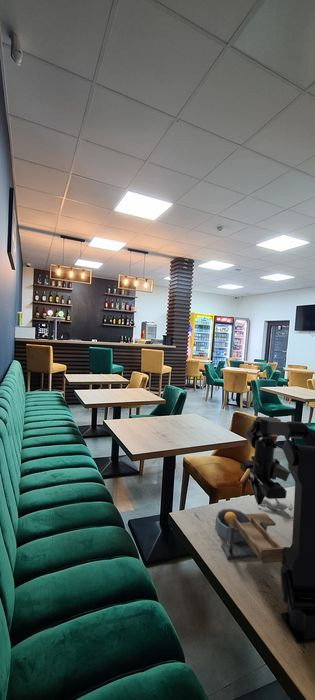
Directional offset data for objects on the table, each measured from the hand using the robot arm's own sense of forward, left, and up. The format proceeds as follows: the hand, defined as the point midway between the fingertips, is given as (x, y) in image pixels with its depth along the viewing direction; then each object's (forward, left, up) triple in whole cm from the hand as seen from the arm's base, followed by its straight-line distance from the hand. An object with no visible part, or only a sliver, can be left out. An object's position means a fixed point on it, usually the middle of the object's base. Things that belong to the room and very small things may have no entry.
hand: (258, 503), depth 98 cm
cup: (+2, +7, -10) cm, 13 cm away
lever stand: (-7, +7, -10) cm, 14 cm away
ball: (+4, +7, -8) cm, 11 cm away
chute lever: (-10, +4, -4) cm, 12 cm away
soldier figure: (+12, -13, -11) cm, 21 cm away
